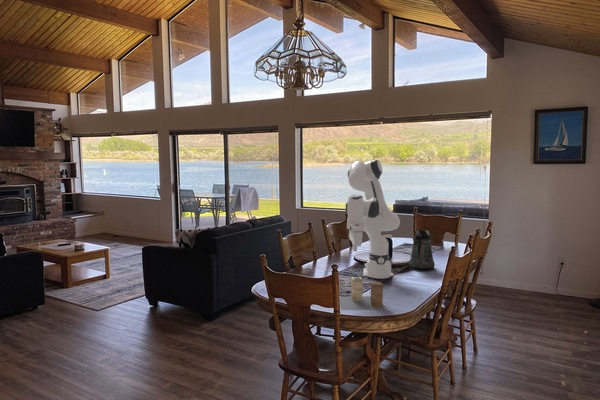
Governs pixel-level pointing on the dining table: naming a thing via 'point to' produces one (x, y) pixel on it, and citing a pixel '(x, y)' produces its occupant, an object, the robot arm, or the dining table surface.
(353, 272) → the dining table surface
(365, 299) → the mat
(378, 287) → the walnut block
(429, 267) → the beer stein
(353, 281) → the maple block
